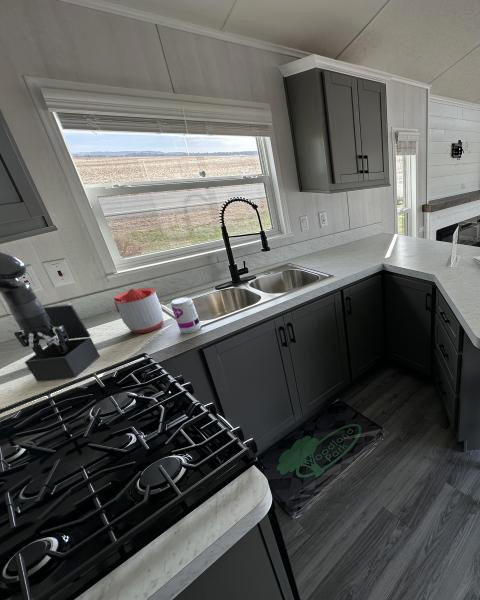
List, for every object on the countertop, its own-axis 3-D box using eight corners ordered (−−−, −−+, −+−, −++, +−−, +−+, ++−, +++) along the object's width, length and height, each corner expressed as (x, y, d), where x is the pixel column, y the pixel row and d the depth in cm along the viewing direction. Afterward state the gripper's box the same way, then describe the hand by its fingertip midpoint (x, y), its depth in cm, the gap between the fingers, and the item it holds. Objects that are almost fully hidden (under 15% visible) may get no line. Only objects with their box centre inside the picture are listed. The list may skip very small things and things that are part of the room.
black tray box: (75, 377, 120) (64, 357, 116) (37, 381, 119) (24, 361, 115) (100, 356, 132) (90, 337, 129) (65, 359, 131) (54, 341, 127)
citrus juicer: (122, 328, 153) (103, 289, 144) (165, 316, 163) (151, 279, 154) (123, 341, 142) (104, 300, 133) (170, 328, 152) (154, 288, 143)
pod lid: (70, 305, 121) (79, 299, 125) (31, 309, 119) (42, 302, 124) (89, 337, 128) (97, 329, 133) (53, 340, 126) (63, 333, 131)
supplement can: (188, 335, 145) (177, 305, 138) (176, 332, 148) (165, 302, 142) (205, 327, 151) (195, 298, 145) (193, 323, 155) (183, 295, 148)
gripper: (-6, 320, 108) (21, 362, 115) (44, 316, 109) (67, 357, 117) (15, 310, 114) (39, 350, 121) (61, 306, 116) (82, 345, 123)
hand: (52, 353), depth 119 cm, fingers open, 6 cm apart
